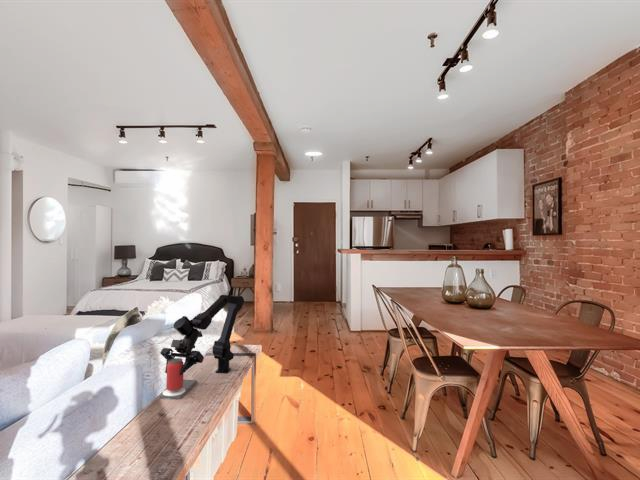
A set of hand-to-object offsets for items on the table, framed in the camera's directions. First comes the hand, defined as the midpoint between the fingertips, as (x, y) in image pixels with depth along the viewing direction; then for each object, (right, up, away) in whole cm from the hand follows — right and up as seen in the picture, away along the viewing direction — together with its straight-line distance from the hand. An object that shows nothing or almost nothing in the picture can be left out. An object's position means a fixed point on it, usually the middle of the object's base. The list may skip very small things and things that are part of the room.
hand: (173, 373), depth 144 cm
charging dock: (0, -10, +6) cm, 11 cm away
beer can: (0, -7, +1) cm, 7 cm away
